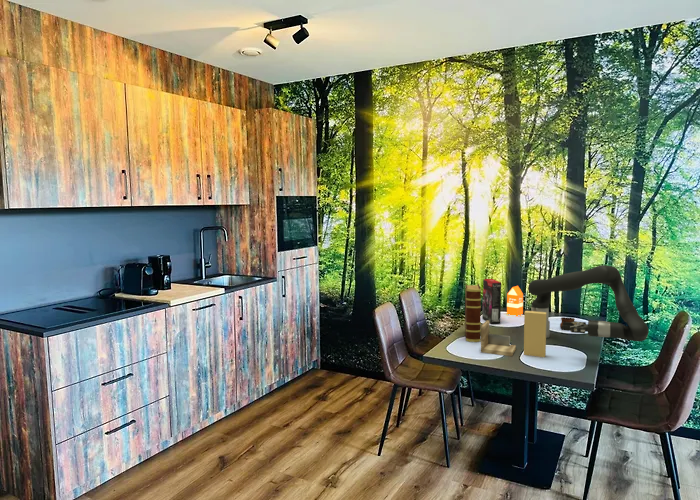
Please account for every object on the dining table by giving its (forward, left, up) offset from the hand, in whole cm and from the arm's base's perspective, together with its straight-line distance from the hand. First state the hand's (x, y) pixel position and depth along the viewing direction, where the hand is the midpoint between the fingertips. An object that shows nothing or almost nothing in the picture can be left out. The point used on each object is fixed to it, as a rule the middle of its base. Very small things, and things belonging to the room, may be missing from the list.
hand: (562, 325), depth 236 cm
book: (+11, -6, -16) cm, 21 cm away
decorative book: (+35, -41, -17) cm, 56 cm away
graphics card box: (+14, -79, -17) cm, 82 cm away
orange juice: (-7, -98, -17) cm, 99 cm away
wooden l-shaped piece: (+27, -13, -16) cm, 35 cm away
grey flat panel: (+26, -17, -14) cm, 34 cm away
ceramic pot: (-27, -58, -17) cm, 66 cm away
